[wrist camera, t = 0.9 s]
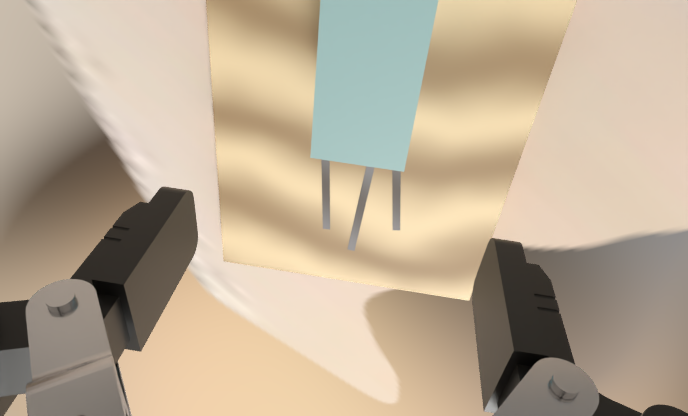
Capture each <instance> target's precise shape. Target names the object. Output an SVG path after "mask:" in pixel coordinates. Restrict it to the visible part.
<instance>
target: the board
mask: <svg viewBox="0 0 688 416" xmlns="http://www.w3.org/2000/svg"><path fill="white" fill-rule="evenodd" d="M576 2H577V0H438V5H437V10H436V15H435V20H434V25H433V30H432V35H431V40H430V45H429V50H428V55H427V60H426V65H425V70H424V75H423V80H422V85H421V90H420V95H419V100H418V105H417V110H416V115H415V120H414V125H413V130H412V135H411V140H410V145H409V150H408V155H407V160H406V165H405V170H404V172H402V171H395V170H388V169H382V168H375V167H368V166H362V165H355V164H348V163H342V162H335V161H328V160H322V159H315V158H310V155H311V139H312V124H313V108H314V93H315V77H316V62H317V46H318V30H319V15H320V0H206V7H207V22H208V37H209V51H210V66H211V81H212V96H213V111H214V126H215V140H216V155H217V170H218V185H219V200H220V214H221V229H222V244H223V259H224V261H226V262H232V263H238V264H244V265H250V266H257V267H263V268H269V269H275V270H282V271H288V272H294V273H300V274H306V275H313V276H319V277H325V278H331V279H338V280H344V281H350V282H356V283H362V284H369V285H375V286H381V287H387V288H394V289H400V290H406V291H413V292H418V293H425V294H431V295H437V296H444V297H450V298H456V299H462V300H468V301H469V299H470V297H471V294H472V291H473V285H474V281H475V278H476V275H477V272H478V269H479V266H480V264H481V261H482V258H483V255H484V253H485V250H486V247H487V244H488V242H489V240H490V239H491V238H492V235H493V233H494V230H495V227H496V224H497V222H498V219H499V216H500V213H501V210H502V208H503V205H504V202H505V199H506V196H507V194H508V191H509V188H510V185H511V183H512V180H513V177H514V174H515V171H516V169H517V166H518V163H519V160H520V158H521V155H522V152H523V149H524V146H525V144H526V141H527V138H528V135H529V133H530V130H531V127H532V124H533V121H534V119H535V116H536V113H537V110H538V108H539V105H540V102H541V99H542V96H543V94H544V91H545V88H546V85H547V82H548V80H549V77H550V74H551V71H552V69H553V66H554V63H555V60H556V57H557V55H558V52H559V49H560V46H561V44H562V41H563V38H564V35H565V32H566V30H567V27H568V24H569V21H570V19H571V16H572V13H573V10H574V7H575V5H576Z"/></svg>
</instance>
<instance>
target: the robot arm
mask: <svg viewBox="0 0 688 416" xmlns="http://www.w3.org/2000/svg"><path fill="white" fill-rule="evenodd" d="M197 241H198V231H197V222H196V213H195V205H194V197H193V193H192V192H191V191H189V190H183V189H176V188H170V187H161V188H160V189H159V190H158V192H157V193H156V194H155V196H154V197H153V198H152V200H151V201H150V202H149V203H144V202H139V203H138V204H136V205H135V206H133V207H131V208H130V209H128V210H127V211H125V212H123V214H122V215H121V216H120V217H119V219H118V220H117V221H116V222H115V224H114V225H113V228H111V229H110V230H109V231H108V232H107V234H106V235H105V236H104V239H102V240H101V241H100V242H99V244H98V245H97V246H96V247H95V248H94V250H93V251H92V252H91V253H90V255H89V256H88V257H87V258H86V260H85V261H84V262H83V263H82V265H81V266H80V267H79V269H78V270H77V271H76V272H75V274H74V275H73V276H72V277H71V278H70V279H67V280H61V281H57V282H54V283H51V284H49V285H47V286H45V287H43V288H42V289H40V290H39V291H37V292H36V293H35V294H34V295H33V296H32V297H31V298H30V300H24V301H12V302H1V303H0V416H4V414H5V412H6V411H7V410H8V408H9V407H10V405H11V404H12V402H13V401H14V399H15V398H16V396H17V395H18V394H25V393H26V401H27V413H28V416H131V412H130V408H129V404H128V400H127V396H126V392H125V388H124V384H123V380H122V376H121V372H120V368H119V364H118V359H119V357H120V356H121V354H122V352H123V351H124V349H129V350H135V351H141V350H142V348H143V347H144V345H145V343H146V341H147V339H148V338H149V336H150V334H151V332H152V330H153V329H154V327H155V325H156V323H157V321H158V320H159V318H160V316H161V314H162V312H163V310H164V309H165V307H166V305H167V303H168V301H169V300H170V298H171V296H172V294H173V292H174V290H175V289H176V287H177V285H178V283H179V281H180V280H181V278H182V276H183V274H184V272H185V271H186V269H187V267H188V265H189V263H190V261H191V260H192V258H193V256H194V254H195V251H196V247H197ZM472 304H473V313H474V323H475V332H476V342H477V351H478V360H479V369H480V380H481V388H482V399H483V408H484V411H485V412H491V413H494V415H493V416H688V413H685V412H684V411H682V410H680V409H677V408H675V407H672V406H668V405H654V406H651V407H649V408H647V409H646V410H645V411H644V413H643V414H642V413H640V412H637V411H635V410H633V409H631V408H628V407H626V406H624V405H622V404H619V403H617V402H615V401H612V400H611V399H608V398H607V397H605V396H603V395H601V394H600V393H598V390H597V388H596V386H595V384H594V382H593V381H592V379H591V378H590V377H589V376H588V375H587V374H586V373H585V372H584V371H583V370H582V369H581V368H579V367H578V366H576V365H575V363H574V359H573V356H572V352H571V349H570V346H569V342H568V339H567V335H566V332H565V328H564V325H563V321H562V318H561V314H559V308H558V304H557V301H556V300H555V294H554V290H553V286H552V283H551V280H550V279H549V278H548V276H547V275H546V274H545V273H544V271H543V270H542V269H541V268H540V266H539V265H536V264H529V263H526V259H525V255H524V250H523V247H522V244H521V243H520V242H514V241H508V240H501V239H495V238H491V239H490V240H489V242H488V244H487V247H486V250H485V253H484V255H483V258H482V261H481V264H480V266H479V269H478V272H477V275H476V278H475V281H474V285H473V293H472Z"/></svg>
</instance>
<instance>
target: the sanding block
mask: <svg viewBox="0 0 688 416" xmlns="http://www.w3.org/2000/svg"><path fill="white" fill-rule="evenodd" d="M437 5H438V0H320V15H319V30H318V46H317V62H316V77H315V93H314V108H313V124H312V139H311V155H310V158H315V159H322V160H328V161H335V162H342V163H348V164H355V165H362V166H368V167H375V168H382V169H388V170H395V171H402V172H404V170H405V165H406V160H407V155H408V150H409V145H410V140H411V135H412V130H413V125H414V120H415V115H416V110H417V105H418V100H419V95H420V90H421V85H422V80H423V75H424V70H425V65H426V60H427V55H428V50H429V45H430V40H431V35H432V30H433V25H434V20H435V15H436V10H437Z"/></svg>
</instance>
